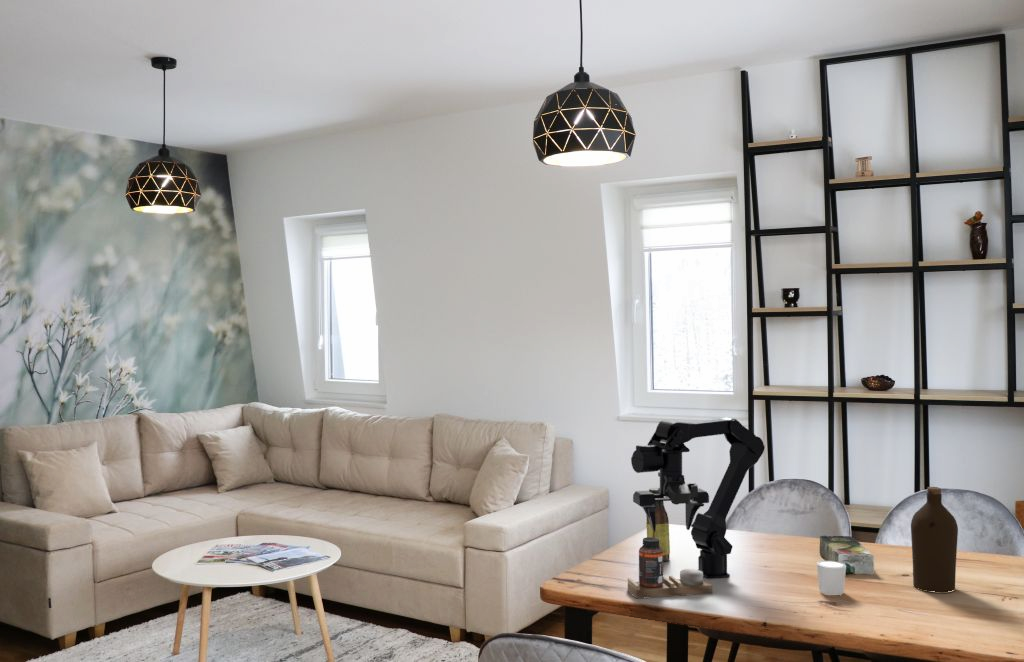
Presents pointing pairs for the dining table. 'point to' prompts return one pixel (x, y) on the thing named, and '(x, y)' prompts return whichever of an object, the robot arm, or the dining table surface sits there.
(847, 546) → the juice carton
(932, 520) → the olive oil
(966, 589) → the dining table surface
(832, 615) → the dining table surface
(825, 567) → the white cup
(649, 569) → the supplement bottle
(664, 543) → the sauce bottle
